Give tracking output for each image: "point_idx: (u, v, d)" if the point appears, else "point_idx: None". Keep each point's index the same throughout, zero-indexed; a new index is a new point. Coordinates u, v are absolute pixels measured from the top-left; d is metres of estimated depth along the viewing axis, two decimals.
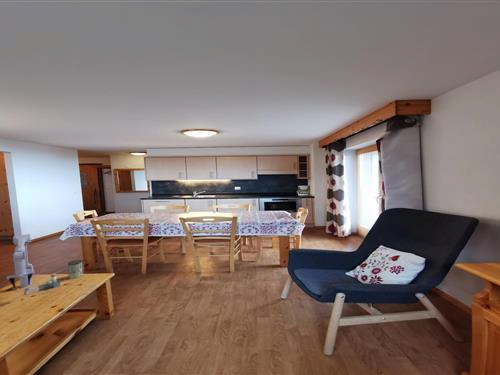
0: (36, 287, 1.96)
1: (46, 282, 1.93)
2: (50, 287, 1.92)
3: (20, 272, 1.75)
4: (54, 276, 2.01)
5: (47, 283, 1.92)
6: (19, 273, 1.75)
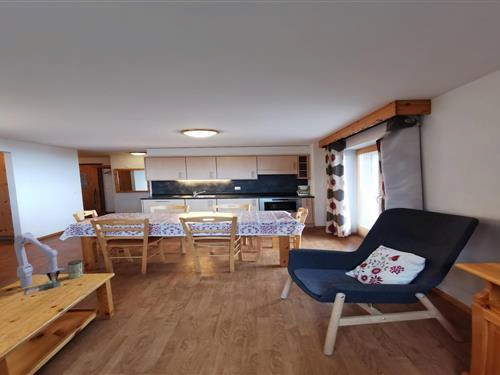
0: (36, 287, 1.96)
1: (46, 282, 1.93)
2: (50, 287, 1.92)
3: (53, 268, 1.99)
4: (54, 276, 2.01)
5: (47, 283, 1.92)
6: (52, 269, 1.99)
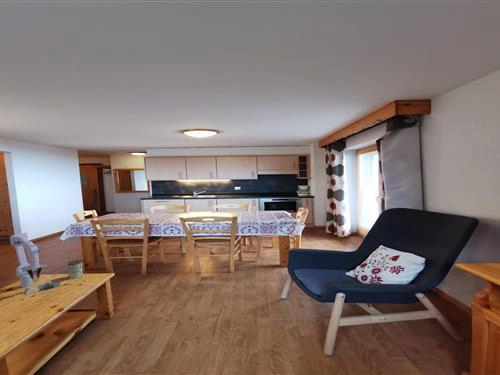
0: (36, 287, 1.96)
1: (46, 282, 1.93)
2: (50, 287, 1.92)
3: (34, 265, 1.89)
4: (35, 273, 1.90)
5: (47, 283, 1.92)
6: (33, 266, 1.88)
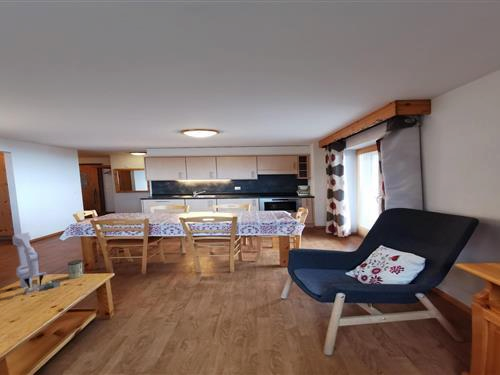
0: None
1: (46, 282, 1.93)
2: (50, 287, 1.92)
3: (33, 273, 1.87)
4: (35, 283, 1.89)
5: (47, 283, 1.92)
6: (32, 274, 1.87)
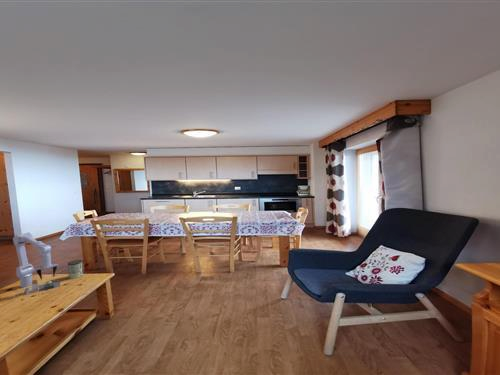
0: None
1: (46, 282, 1.93)
2: (50, 287, 1.92)
3: (46, 264, 1.91)
4: (35, 283, 1.89)
5: (47, 283, 1.92)
6: (45, 265, 1.91)
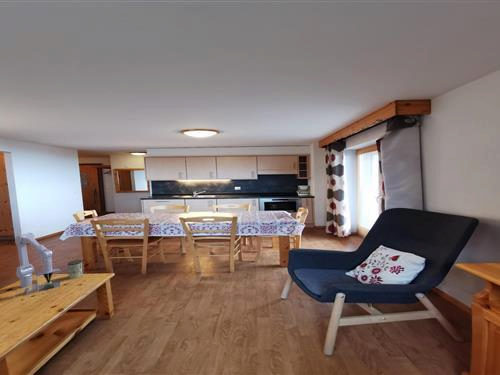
0: None
1: (46, 283, 1.93)
2: (50, 287, 1.92)
3: (47, 269, 1.91)
4: (35, 283, 1.89)
5: (47, 284, 1.92)
6: (47, 270, 1.91)
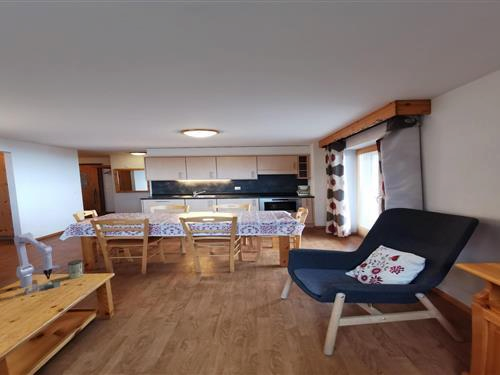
0: None
1: (46, 283, 1.93)
2: (50, 287, 1.92)
3: (47, 265, 1.91)
4: (35, 283, 1.89)
5: (47, 284, 1.92)
6: (46, 267, 1.91)
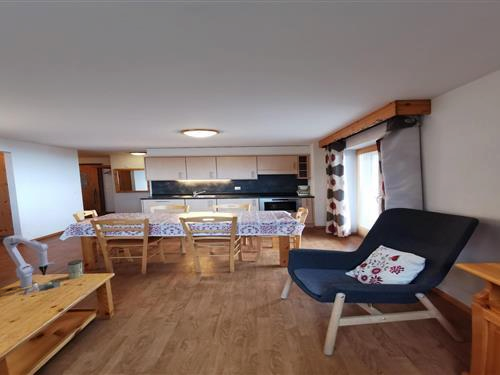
0: None
1: (46, 283, 1.93)
2: (50, 287, 1.92)
3: (42, 262, 1.96)
4: (35, 283, 1.89)
5: (47, 284, 1.92)
6: (42, 263, 1.96)
